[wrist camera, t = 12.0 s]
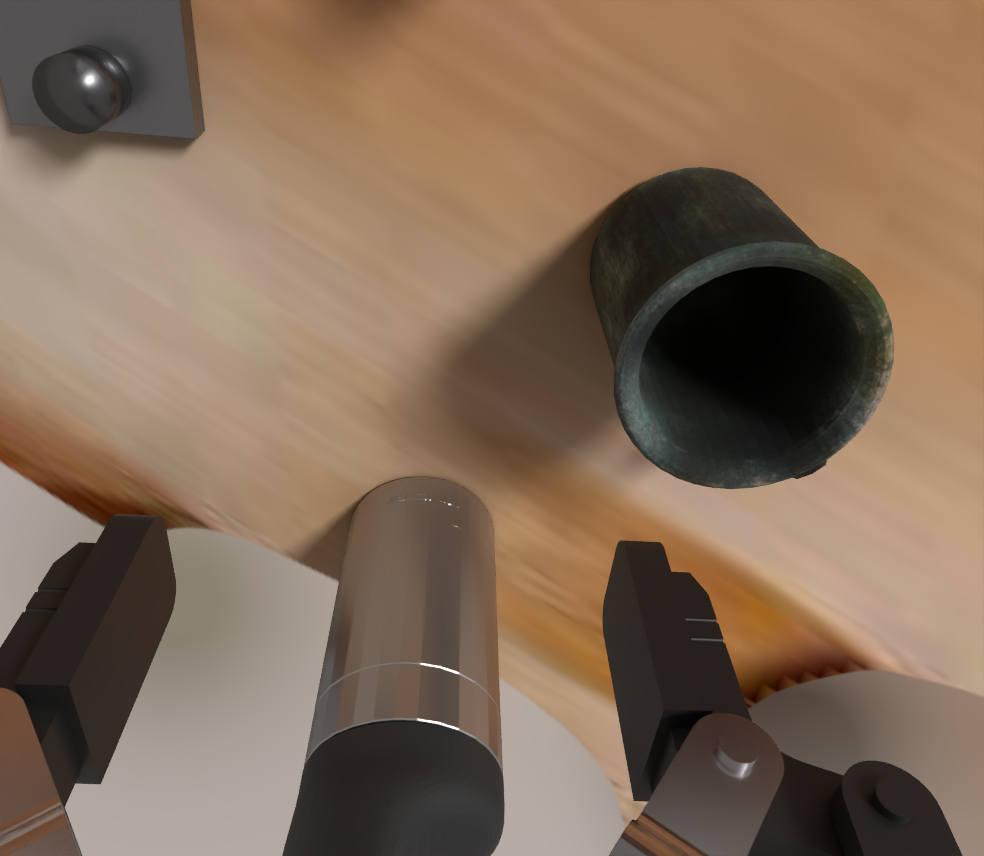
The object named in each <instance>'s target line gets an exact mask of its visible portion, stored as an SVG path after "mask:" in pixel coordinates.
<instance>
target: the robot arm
mask: <svg viewBox="0 0 984 856" xmlns="http://www.w3.org/2000/svg"><path fill="white" fill-rule="evenodd" d="M175 595H176V579H175V573H174V568H173V563H172V558H171V552H170V547H169V541H168V536H167V531H166V526H165V522H164V520H163V518H162V517H160V516H145V515H125V514H115V515H114V516H112V517H111V519H110V520H109V522H108V523H107V525H106V527H105V528H104V530H103V532H102V534H101V536H100V537H99V539H98V541H97V542H96V543H80V542H79V543H78V544H77V545H76V546H74V547H73V548H72V549H71V550H70V551H68V552H67V553H66V554H64V555H63V556H62V557H61V558H59V559H58V560H57V561H56V562H54V563H53V565H52V567H51V568H50V570H49V571H48V573H47V574H46V576H45V577H44V579H43V581H42V582H41V584H40V585H39V587H38V592H35V594H34V595H33V597H32V598H31V600H30V602H29V603H28V605H27V607H26V611H25V612H23V613H22V614H21V616H20V617H19V619H18V620H17V622H16V624H15V625H14V627H13V628H12V630H11V632H10V633H9V635H8V637H7V638H6V640H5V641H4V643H3V644H2V646H1V648H0V856H82V854H81V851H80V848H79V846H78V843H77V840H76V837H75V835H74V832H73V829H72V826H71V824H70V821H69V818H68V815H67V813H66V810H65V805H66V803H67V800H68V798H69V796H70V794H71V791H72V789H73V787H74V785H75V783H82V784H101V782H102V780H103V777H104V775H105V772H106V770H107V768H108V765H109V763H110V761H111V758H112V756H113V753H114V751H115V749H116V746H117V744H118V741H119V739H120V737H121V734H122V732H123V729H124V727H125V724H126V722H127V720H128V717H129V715H130V712H131V710H132V708H133V705H134V703H135V701H136V698H137V696H138V694H139V691H140V689H141V686H142V684H143V682H144V679H145V677H146V674H147V672H148V670H149V667H150V665H151V662H152V660H153V658H154V655H155V653H156V650H157V648H158V645H159V643H160V641H161V638H162V636H163V634H164V631H165V628H166V627H167V624H168V622H169V619H170V617H171V614H172V611H173V607H174V603H175ZM716 619H717V618H716V616H715V613H714V610H713V607H712V604H711V601H710V598H709V595H708V594H707V592H706V591H705V590H704V589H703V588H702V587H701V585H700V584H699V583H698V582H697V581H696V580H695V578H694V577H693V576H692V575H691V574H690V573H686V572H671V569H670V566H669V563H668V559H667V556H666V553H665V549H664V547H663V545H662V544H661V543H660V542H642V541H619V542H618V544H617V547H616V551H615V555H614V560H613V564H612V568H611V573H610V577H609V581H608V586H607V590H606V594H605V599H604V605H603V633H604V639H605V644H606V650H607V655H608V661H609V667H610V672H611V678H612V683H613V689H614V694H615V700H616V705H617V711H618V716H619V722H620V727H621V733H622V738H623V744H624V749H625V755H626V760H627V766H628V771H629V777H630V782H631V788H632V793H633V799H634V801H648V803H647V804H646V806H645V808H644V809H643V811H642V812H641V814H640V816H639V817H638V818H637V820H636V821H635V820H632V821H631V822H630V823H629V824H628V826H627V827H626V828H625V830H624V831H623V833H622V835H621V837H620V838H619V839H618V842H617V843H616V844H615V846H614V848H613V849H612V851H611V853H610V854H609V856H962V854H961V851H960V849H959V847H958V845H957V843H956V841H955V838H954V836H953V834H952V832H951V830H950V827H949V825H948V823H947V821H946V819H945V817H944V815H943V812H942V810H941V808H940V806H939V805H938V802H937V801H936V799H935V798H934V797H933V795H932V794H931V792H930V791H929V790H928V789H927V788H926V787H925V786H924V785H923V784H922V783H921V782H920V781H919V780H917V779H916V778H915V777H913V776H912V775H911V774H909V773H908V772H906V771H904V770H902V769H900V768H898V767H896V766H894V765H891V764H888V763H885V762H880V761H863V762H859V763H857V764H854V765H853V766H851V767H850V768H849V769H848V770H847V772H846V773H845V775H844V776H843V775H840V774H837V773H834V772H831V771H828V770H825V769H822V768H819V767H816V766H813V765H810V764H807V763H804V762H801V761H799V760H796V759H793V758H792V757H790V756H788V755H786V754H784V753H783V752H781V751H780V750H779V748H778V746H777V744H776V743H775V741H774V740H773V739H772V737H771V736H770V735H769V734H768V733H767V732H766V731H765V730H764V729H763V728H761V727H760V726H759V725H757V724H756V723H754V722H753V721H752V719H751V717H750V715H749V712H748V709H747V706H746V703H745V700H744V697H743V694H742V691H741V689H740V686H739V683H738V680H737V677H736V674H735V671H734V668H733V665H732V662H731V659H730V656H729V654H728V651H727V648H726V645H725V643H723V636H722V633H721V630H720V627H719V624H718V623H716ZM503 826H504V783H503V768H502V739H501V717H500V693H499V663H498V634H497V604H496V569H495V542H494V528H493V522H492V519H491V517H490V514H489V512H488V510H487V509H486V507H485V506H484V505H483V503H482V502H481V501H480V500H479V499H478V498H477V497H476V496H475V495H473V494H472V493H471V492H470V491H468V490H466V489H465V488H463V487H461V486H459V485H457V484H455V483H452V482H449V481H445V480H442V479H437V478H430V477H409V478H404V479H399V480H394V481H391V482H389V483H386V484H384V485H381V486H379V487H378V488H376V489H375V490H373V491H372V492H370V493H369V494H368V495H367V496H366V497H365V498H364V499H363V500H362V501H361V502H360V503H359V505H358V506H357V508H356V510H355V512H354V513H353V517H352V520H351V524H350V529H349V535H348V540H347V545H346V550H345V555H344V560H343V564H342V569H341V575H340V580H339V586H338V590H337V595H336V601H335V606H334V611H333V616H332V622H331V627H330V632H329V637H328V643H327V648H326V653H325V658H324V663H323V668H322V674H321V679H320V684H319V689H318V694H317V700H316V705H315V712H314V717H313V722H312V728H311V733H310V738H309V743H308V748H307V754H306V759H305V764H304V769H303V774H302V779H301V785H300V790H299V795H298V799H297V803H296V808H295V811H294V815H293V818H292V822H291V826H290V829H289V833H288V836H287V840H286V844H285V847H284V852H283V856H490V855H491V854H492V853H493V852H494V850H495V849H496V847H497V845H498V843H499V840H500V838H501V835H502V831H503Z"/></svg>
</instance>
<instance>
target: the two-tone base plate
mask: <svg viewBox="0 0 984 856" xmlns="http://www.w3.org/2000/svg"><path fill="white" fill-rule="evenodd" d="M0 79H1V83H2V88H3V92H4V96H5V100H6V104H7V108H8V112H9V116H10V121H11V124H20V125H32V126H45V127H57V128H62V129H64V130H66V131H69V132H73V133H78V134H84V133H90V132H93V131H106V132H119V133H131V134H143V135H156V136H168V137H180V138H193V139H196V138H197V137H198V136H199V135H200V134H202V133H203V132H204V131H205V127H204V118H203V110H202V101H201V92H200V83H199V74H198V65H197V56H196V47H195V38H194V29H193V20H192V11H191V2H190V0H0Z"/></svg>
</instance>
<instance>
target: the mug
mask: <svg viewBox="0 0 984 856" xmlns="http://www.w3.org/2000/svg"><path fill="white" fill-rule="evenodd" d="M590 284H591V289H592V294H593V298H594V301H595V305H596V308H597V311H598V314H599V318H600V321H601V324H602V327H603V331H604V334H605V337H606V340H607V344H608V347H609V350H610V353H611V357H612V360H613V363H614V366H615V373H614V397H615V402H616V407H617V412H618V415H619V418H620V420H621V423H622V425H623V428H624V430H625V431H626V433H627V434H628V436H629V438H630V439H631V441H632V442H633V444H634V445H635V446H636V447H637V448H638V449H639V450H640V452H641V453H642V454H643V455H644V456H645V457H646V458H647V459H648V460H650V461H651V462H652V463H653V464H655V465H656V466H657V467H659V468H660V469H661V470H663V471H665V472H667V473H669V474H671V475H673V476H674V477H676V478H679V479H682V480H684V481H687V482H690V483H693V484H697V485H702V486H707V487H712V488H726V489H739V488H753V487H758V486H764V485H769V484H773V483H776V482H780V481H783V480H786V479H789V478H792V477H793V478H796V479H799V478H801V477H804V476H807V475H810V474H813V473H814V472H816V471H817V470H819V469H820V468H822V467H823V466H825V465H826V462H827V459H828V458H830V457H831V456H832V455H834V454H835V453H836V452H838V451H839V450H840V449H842V448H843V447H844V446H845V445H846V444H847V443H848V442H849V441H850V440H851V439H852V438H853V437H854V436H855V435H856V434H857V433H858V432H859V431H860V430H861V429H862V428H863V426H864V425H865V424H866V422H867V421H868V420H869V419H870V417H871V416H872V415H873V413H874V411H875V409H876V408H877V406H878V404H879V402H880V401H881V399H882V397H883V394H884V392H885V389H886V387H887V384H888V382H889V379H890V374H891V369H892V365H893V358H894V337H893V330H892V324H891V320H890V317H889V314H888V311H887V309H886V306H885V303H884V301H883V299H882V298H881V296H880V294H879V293H878V291H877V290H876V288H875V286H874V285H873V284H872V283H871V282H870V281H869V280H868V278H867V277H866V276H865V275H864V274H863V273H862V272H861V271H860V270H859V269H857V268H856V267H854V266H853V265H852V264H850V263H849V262H847V261H846V260H845V259H843V258H841V257H839V256H837V255H834V254H832V253H830V252H828V251H826V250H824V249H820V248H819V247H818V246H817V245H816V244H815V243H814V242H813V241H812V240H811V239H810V238H809V237H808V236H807V235H806V234H805V233H804V232H803V231H802V230H801V229H800V228H799V227H798V226H797V225H796V224H795V223H794V222H793V221H792V220H791V219H790V218H789V217H788V216H787V215H786V214H785V213H784V212H783V211H782V210H781V209H780V208H779V207H778V206H777V205H776V204H775V203H774V202H773V201H772V200H771V199H770V198H769V197H768V196H767V195H766V194H765V193H764V192H763V191H762V190H761V189H760V188H758V187H757V186H756V185H754V184H753V183H751V182H750V181H749V180H747V179H745V178H743V177H741V176H739V175H736V174H734V173H731V172H728V171H724V170H720V169H714V168H703V167H699V168H685V169H680V170H676V171H672V172H668V173H665V174H663V175H660V176H658V177H655V178H653V179H651V180H649V181H647V182H646V183H644V184H642V185H640V186H639V187H637V188H636V189H635V190H633V191H632V192H631V193H630V194H628V195H627V196H626V197H625V198H624V199H623V200H622V201H621V202H620V203H619V204H618V205H617V206H616V207H615V208H614V209H613V211H612V212H611V213H610V215H609V216H608V218H607V219H606V221H605V222H604V224H603V226H602V228H601V230H600V232H599V234H598V236H597V238H596V241H595V245H594V248H593V251H592V256H591V264H590Z"/></svg>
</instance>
